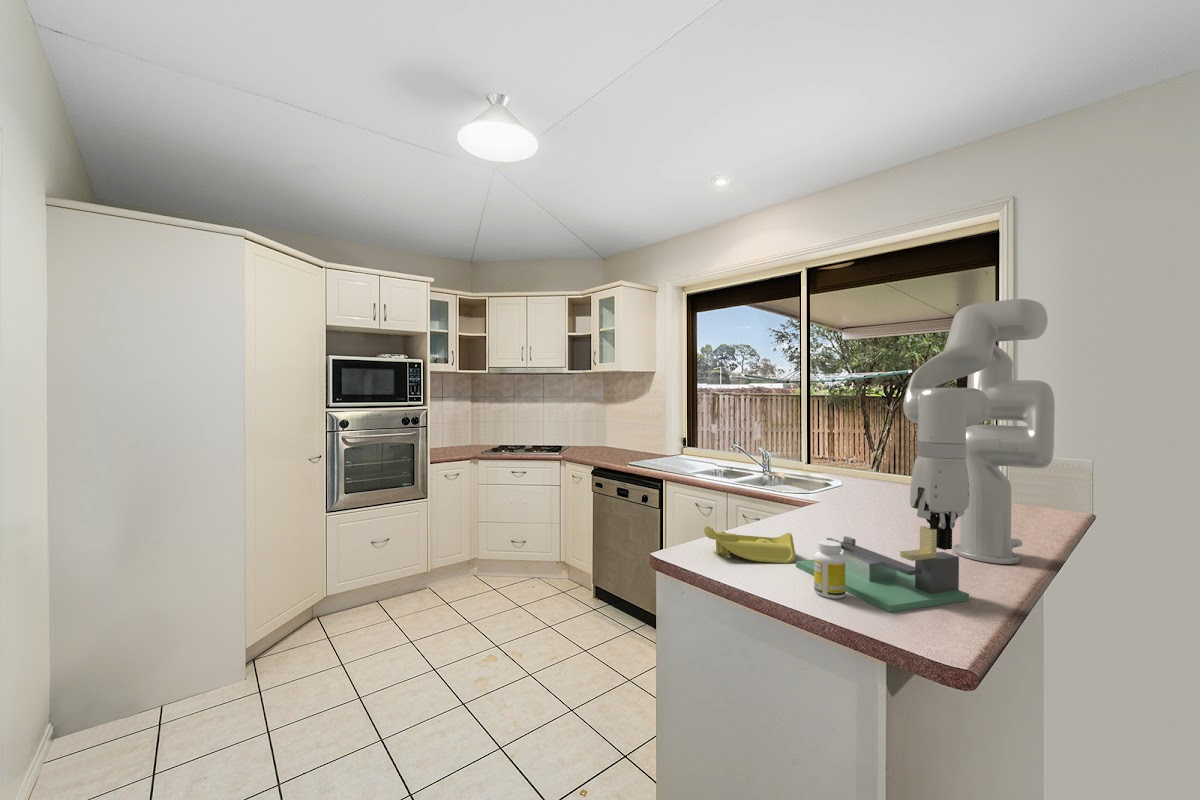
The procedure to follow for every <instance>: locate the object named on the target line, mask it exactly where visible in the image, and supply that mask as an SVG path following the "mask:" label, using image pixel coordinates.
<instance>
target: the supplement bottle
mask: <svg viewBox="0 0 1200 800" xmlns="http://www.w3.org/2000/svg"><path fill="white" fill-rule="evenodd" d="M817 542H818V546H817V548H818V550H819V551H817V552H816V553H814V556H813V558H814V559H813V560H814V575H813V576H814V577H813V579H814V580H813V581H814V582H813V585H814V586H813V589H814V592H815V594H817V595H818V596H821V597H823V598H827V599H834V600H836V599H837V600H838V599H839V600H840V599H842V598H844V597H845V596H846V591H845V558H844V556H842V549H841V543H839V542H840V541H839V542H836V541H830V540H827V539H822V540H819V541H817Z"/></svg>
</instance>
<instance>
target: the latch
mask: <svg viewBox="0 0 1200 800" xmlns="http://www.w3.org/2000/svg"><path fill="white" fill-rule="evenodd" d="M936 537H937V529H933V528H930V526H926V525H923V526H919V549H913V550H912V549H911V550H903V551H899V552H900V558H902V559H905V560H908V561H912V562H913V561H914V562H915V560H924V559H933V558H936V552H937V548H936Z"/></svg>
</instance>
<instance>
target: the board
mask: <svg viewBox="0 0 1200 800" xmlns="http://www.w3.org/2000/svg"><path fill="white" fill-rule="evenodd" d="M842 538H843V541H847V542H849V543H851V544H854V545H856V542H857V541H856V538H854V537H851V536H847V535H845V536H843V537H842ZM826 540H830V541H836V542H840V541H839V539H835V538H832V537H826ZM843 541H842V542H843ZM842 551H843V552H842V553H848V552H849V551H846V550H843V549H842ZM795 567H796V568H797V569H799V570H802V571H804V572H805V573H808V574H810V575H812V576H814V559H808V560H807V559H806V560H799V561H796V562H795ZM845 593H849V594H851V595H853V596H855V597H857V598H859V599H861V600H863V601H866V602H867V603H869V604H871V605H873V606H875V607H877V608H880V609H882V610H884V611H886V612H888V613H895V612H901V611H908V610H916V609H919V608H921V609H922V608H928V607H935V606H940V605H946V604H947V605H948V604H954V603H959V602H960V603H961V602H965V601H966V602H967V601H969V600H970V593H967V592H965V591H962V590H960V589H959V590H955V591H948V592H941V593H934V594H930V593H927V592H925V591H922V590H920V589H918V588H915V575H906V574H904V573H901V572H899V571H897V578H893V579H885V580H877V581H867V580H865V579H863V578H860V577H858V576H856V575H853V574H851V573H849V572H847V571H845Z"/></svg>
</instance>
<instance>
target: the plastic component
mask: <svg viewBox="0 0 1200 800" xmlns="http://www.w3.org/2000/svg"><path fill="white" fill-rule="evenodd" d="M703 533H704V534H705V536H706V537H707V538H708V539H709V540H715V552H716V554H718V555H730V554H734V555H736V556H738V557H739V558H742V559H745V560H747V561H753V562H761V563H770V564H771V563H774V564H789V563H792V562H793V561H794V560H795V557H796V550H795V544H794V538H793V534H792V533H791V532H787V533H786V532H785V534H782V535H780V536H777V537H765V536H756V535H754V536H753V535H745V534H744V535H743V534H741V535H740V534H736V533H732V532H731V533H730V532H726V531H715V529H714V528H713V526H710V525H707V526H705V527H704V528H703Z"/></svg>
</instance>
